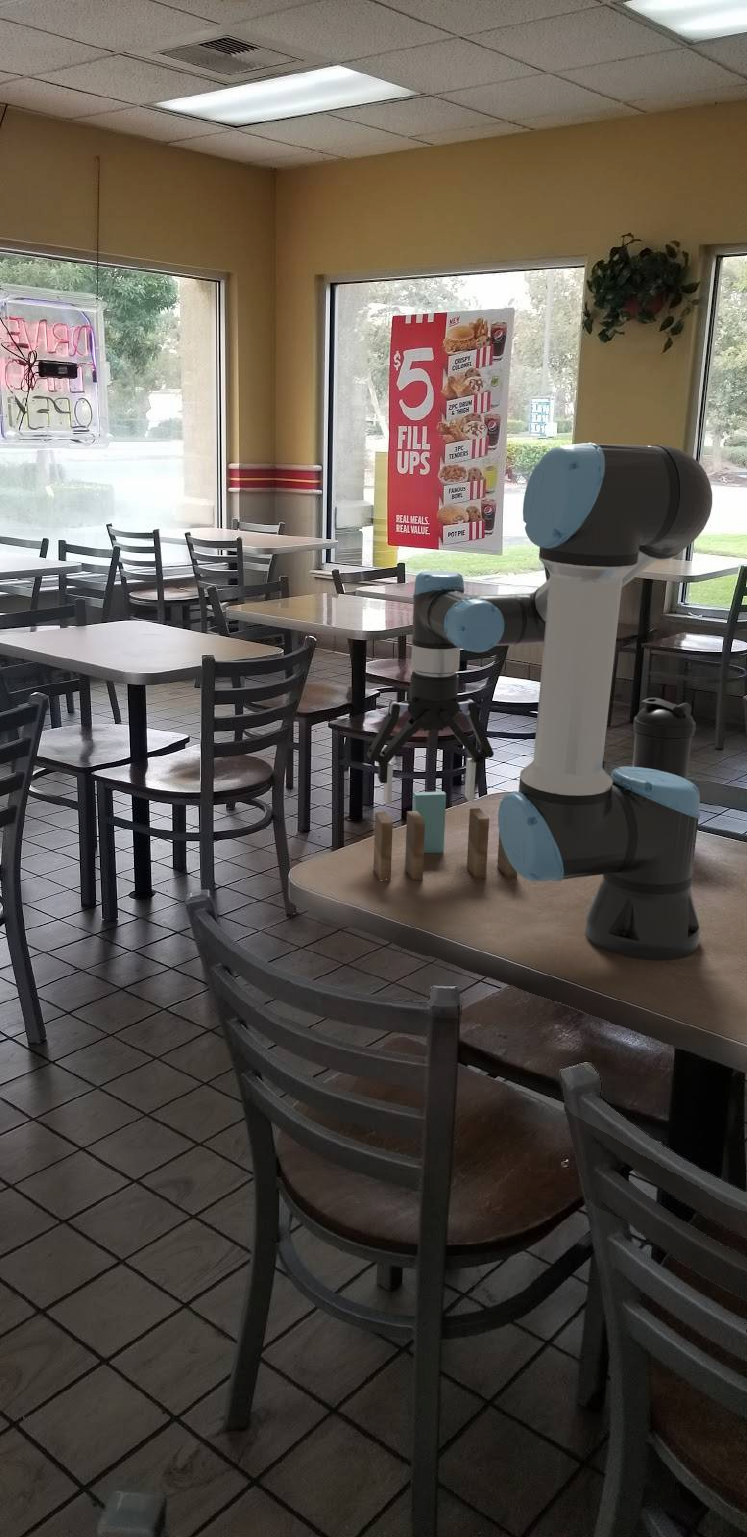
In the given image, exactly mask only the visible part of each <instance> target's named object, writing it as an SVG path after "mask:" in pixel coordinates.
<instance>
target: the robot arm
mask: <svg viewBox="0 0 747 1537" xmlns="http://www.w3.org/2000/svg"><path fill="white" fill-rule="evenodd" d="M712 509H713V490H712V484H711V481H710V479H709V477H708V475H707V472H706V471H705V469H704V468H703V466H702V465H701V463H699V461H697V459H695V458H694V456H692V455H690V453H688V452H685V451H684V450H681V449H680V448H677V447H673V446H670V445H661V444H652V445H644V444H643V445H642V444H639V445H638V444H617V443H615V444H613V443H612V444H611V443H609V444H608V443H594V442H593V443H592V442H588V443H586V442H582V443H575V444H563V445H558V446H555V447H553V448H551V449H550V450H548V451H547V452H545V454H543V455H542V457H541V459H540V460H539V462H537V463H536V465H535V466H534V468H533V470H532V472H531V473H530V475H529V479H528V481H527V484H526V487H525V491H524V497H523V503H522V520H523V523H525V526H524V530H525V533H526V536H527V538H528V539H529V541H530V542H531V543H532V544H533V545H535V546H537V547H538V548H539V550H538V551H539V552H538V560H539V561H540V562H541V563H542V564H543V566H544V567H545V568H546V570H548V573H549V578H548V579H547V580H546V581H545V582H544V583H543V584H542V585H540V586H539V587H538V588H537V589H536V590H535V591H534V592H530V593H511V594H509V593H508V594H482V595H481V594H478V595H475V594H474V595H473V594H467V593H465V588H464V577H463V575H461V574H460V573H458V572H455V571H454V572H453V571H448V570H426V571H421V572H419V573H418V574H416V576H415V581H414V591H413V594H412V599H413V606H412V607H413V608H412V610H413V611H412V636H411V637H412V638H411V640H412V641H411V642H412V644H411V657H410V658H411V661H410V667H411V669H412V670H413V671H412V672H410V679H409V680H410V681H409V682H410V683H409V684H410V685H409V699H408V701H407V703H403V702H397V701H396V700H390V702H389V704H388V710H387V715H386V717H385V718H384V720H383V722H382V724H381V725H380V728H379V730H378V732H377V734H376V735H375V737H374V739H373V740H372V742H371V745H370V747H369V749H368V751H367V752H366V753H367V754H366V755H367V756H368V758H369V759H370V761H372V762H376V763H378V766H377V768H378V771H377V773H378V774H377V778H378V781H379V782H380V784H383V797H382V798H383V801H384V802H385V804H386V805H392V800H393V778H394V775H393V774H394V765H393V763H392V762H391V760H392V759H393V758H394V757H395V756H396V755H397V754H398V753H399V751H400V750H401V749H402V748H403V747H404V745H405V744H407V742H408V741H409V740H410V739H411V738H412V737H413V735H414V734H417V733H418V732H419V730H422V731H425V732H426V731H427V732H428V731H432V730H436V731H444V729H446V728H448V729H449V730H450V731H451V732H452V733H453V735H454V736H455V738H457V740H458V741H459V743H461V745H462V746H463V747H464V748H465V750H466V751H467V752H468V753H469V755H470V756H471V757H466V765H465V766H466V768H465V779H464V780H465V781H464V782H465V783H464V784H465V785H464V798H466V799H467V801H468V802H475V785H476V784H475V783H476V781H480V780H481V777H482V763H484V761H485V759H488V758H489V759H490V758H492V757H494V754H495V753H494V750H493V748H492V745H491V744H490V741H489V739H488V737H487V735H486V732H485V730H484V728H483V726H482V723H481V721H480V719H479V717H478V706H477V705H478V704H477V703H476V702H475V701H473V700H472V699H471V698H468V699H466V700H465V701H461V702H459V700H458V693H459V675H458V673H457V672H458V671H459V670H460V657H461V656H460V654H461V651H460V650H461V649H462V650H463V651H466V652H473V653H485V652H488V651H489V650H491V649H492V648H494V647H496V646H497V647H499V646H502V647H503V646H515V645H517V646H518V645H521V646H522V645H542V644H543V650H542V662H541V672H540V673H541V674H540V683H539V695H538V696H539V697H538V706H537V714H536V715H537V717H536V718H537V719H536V729H535V740H534V749H533V760H532V762H530V763H529V764H528V765H526V766H525V767H524V768H522V770H521V771H520V773H519V784H518V790H516V791H510V792H509V793H507V794H505V795H504V796H503V797H502V800H501V801H500V803H499V806H498V811H497V820H498V821H497V825H498V834H499V833H500V838H501V842H502V845H503V848H504V851H505V853H506V855H507V858H508V860H509V862H510V863H511V865H512V867H513V868H514V869H515V870H516V872H517V875H519V876H520V877H521V878H523V879H525V880H527V881H530V882H533V883H534V882H535V883H538V882H539V883H540V882H553V883H554V882H555V883H557V882H561V881H563V880H571V879H578V878H585V877H593V876H595V877H596V876H600V875H602V880H601V882H600V885H599V887H598V889H597V891H596V893H595V896H594V898H593V900H592V902H591V905H590V907H589V909H588V912H587V914H586V917H585V928H584V929H585V930H584V933H585V936H586V938H587V939H588V941H589V942H591V943H592V944H593V945H594V946H596V947H598V948H600V949H602V950H604V951H606V952H608V953H611V954H614V955H618V956H621V957H626V958H630V959H636V960H637V959H638V960H644V961H671V960H678V959H682V958H684V957H687V956H690V955H692V954H693V953H695V952H696V951H697V949H698V948H699V943H700V933H701V932H700V931H701V930H700V924H699V920H698V919H699V918H698V915H697V911H696V906H695V902H694V901H695V900H694V898H693V892H692V879H693V872H694V861H695V851H696V841H697V834H698V828H699V827H698V825H699V819H701V814H700V804H701V803H700V800H701V799H700V798H701V794H700V791H699V788H698V787H697V786H696V785H695V783H693V782H691V781H690V780H689V779H687V778H686V779H685V778H682V777H680V776H677V775H674V774H671V773H667V772H663V771H659V770H654V769H648V768H641V767H633V766H618V767H616V768H614V769H613V770H612V771H611V775H609V774H608V772H607V771H606V770H604V768H603V763H604V755H605V753H604V752H605V743H606V736H607V725H608V715H609V709H610V708H609V706H610V698H611V697H610V696H611V689H612V681H613V680H612V679H613V671H614V670H613V669H614V660H615V653H616V652H615V651H616V642H617V634H618V633H617V632H618V626H619V625H618V624H619V617H620V616H619V615H620V608H621V606H620V605H621V597H622V589H623V587H624V586H625V585H627V584H628V583H629V582H631V581H632V580H633V579H634V578H636V577H637V576H639V574H641V573H643V572H644V571H645V570H646V569H647V568H649V567H650V566H651V565H653V564H654V563H655V562H657V561H663V560H665V561H666V560H669V559H672V558H673V557H676V556H678V555H679V554H680V553H681V552H682V551H683V550H685V549H686V548H688V547H689V546H690V545H691V544H692V543H693V542H695V540H696V539H697V538H698V537H699V536H700V534H701V533H702V532H703V530H704V529H705V527H706V526H707V523H708V521H709V519H710V517H711V514H712ZM460 711H461V712H462V713H463V715H464V716H466V718H467V720H468V721H469V724H470V727H471V729H472V731H473V733H474V735H475V738H476V740H477V742H478V745H479V747H480V749H479V750H478V749H477V748H476V746H474V744H473V743H472V741H471V740H470V739H469V738H468V737H467V735H466V734H465V733H464V731H462V729H461V728H460V727H459V725H458V724H457V723H456V721H455V720H454V719H455V717H456V716H457V715H458V714H459V713H460ZM405 712H407V714H409V716H410V717H409V718H408V719H407V720H406V722H405V723H404V725H403V727H402V728H401V729H400V730H398V731H399V732H397V733H396V734H395V736H393V738H392V739H391V740H390V741H389V742H388V740H389V737H390V736H391V735H392V732H393V730H394V729H395V727H396V725H397V723H398V721H399V718H400V717H403V715H404V713H405ZM387 742H388V743H387ZM386 744H387V745H386ZM385 745H386V746H385Z"/></svg>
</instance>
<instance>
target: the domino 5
mask: <svg viewBox="0 0 747 1537" xmlns="http://www.w3.org/2000/svg"><path fill="white" fill-rule="evenodd" d="M496 867H497V868H498V869H499V871H501V872H502V874H503V875H504V876H505V877H506V878H517V877H518V873H517V872H516V870H515V869H514V868H513V867H512V865H511V863H510V862H509V860H508V858H507V855H506V853H505V851H504V848H503V845H502V842H501V838H500V833H499V832H498V850H497V866H496Z"/></svg>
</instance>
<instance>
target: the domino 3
mask: <svg viewBox="0 0 747 1537" xmlns="http://www.w3.org/2000/svg"><path fill="white" fill-rule="evenodd" d="M446 803H447V793H446V792H445V791H421V792H420V791H417V792H413V797H412V811H418V813H419V814H420V815H421V816H422V818H423V819H424V820H425V838H424V854H427V853H428V854H430V853H431V854H432V853H433V854H435V853H438V854H439V853H444V850H445V833H446V832H445V828H446V810H447V809H446V805H447V804H446Z"/></svg>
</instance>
